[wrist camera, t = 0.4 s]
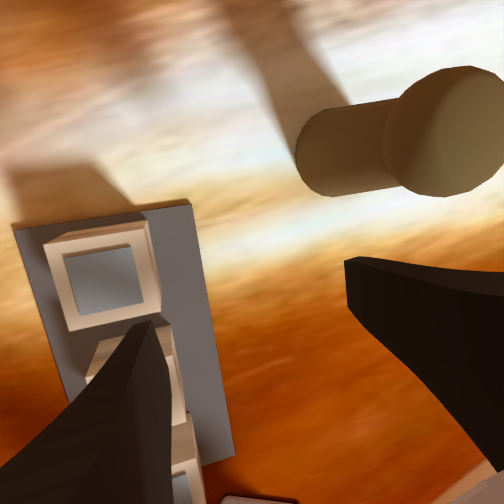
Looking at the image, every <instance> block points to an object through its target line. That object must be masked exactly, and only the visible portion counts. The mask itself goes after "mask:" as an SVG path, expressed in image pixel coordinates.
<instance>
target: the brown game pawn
mask: <svg viewBox="0 0 504 504" xmlns="http://www.w3.org/2000/svg"><path fill="white" fill-rule="evenodd" d="M295 155H296V162H297V169H298V171H299V173H300V175H301V177H302V180H303V181H304V182H305V183H306V184H307V186H308V187H309V188H310V189H311V190H313V191H314V192H316V193H318V194H320V195H322V196H329V197H337V196H344V195H350V194H356V193H362V192H368V191H374V190H380V189H386V188H392V187H398V186H403V187H405V188H407V189H408V190H410V191H412V192H414V193H417V194H419V195H426V196H433V197H448V196H453V195H457V194H461V193H465V192H469V191H471V190H473V189H474V188H476V187H477V186H479V185H481V184H482V183H484V182H485V181H487V180H488V179H490V178H491V177H493V175H494V174H495V173H496V172H497V171H498V170H499V169H500V167H501V166H502V165H503V163H504V81H502V80H501V79H500V78H499V77H498V76H497V75H496V74H495V73H492V72H489V71H486V70H483V69H480V68H477V67H474V66H471V65H470V66H460V67H452V68H445V69H441V70H438V71H436V72H434V73H431V74H429V75H427V76H426V77H424V78H422V79H421V80H419V81H417V82H415V83H414V84H413V85H412V86H410V87H409V88H408V89H407V90H405V92H404V93H403V94H402V95H401V96H400V97H399V98H394V99H388V100H382V101H376V102H369V103H363V104H357V105H351V106H345V107H339V108H332V109H326V110H323V111H321V112H319V113H318V114H316V115H314V116H312V118H311V119H310V120H309V121H308V122H307V123H306V124H305V125H304V127H303V129H302V131H301V133H300V135H299V138H298V140H297V146H296V153H295Z"/></svg>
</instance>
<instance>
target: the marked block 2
mask: <svg viewBox="0 0 504 504" xmlns="http://www.w3.org/2000/svg"><path fill="white" fill-rule="evenodd" d="M186 421H187V422H185V423H182V424H178V425H175V426H172V446H171V467H172V486H173V497H174V504H206V498H205V490H204V482H203V475H202V467H201V460H200V455H199V451H198V446H197V441H196V436H195V431H194V427H193V422H192V417H191V413H188V414H186Z"/></svg>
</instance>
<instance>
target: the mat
mask: <svg viewBox="0 0 504 504" xmlns="http://www.w3.org/2000/svg"><path fill="white" fill-rule="evenodd" d="M142 220H148V225H149V230H150V235H151V239H152V244H153V249H154V254H155V258H156V263H157V268H158V273H159V277H160V282H161V287H162V294H161V311H160V312H156V313H151V314H147V315H142V316H138V317H133V318H129V319H124V320H120V321H115V322H111V323H106V324H101V325H97V326H92V327H88V328H83V329H79V330H74V331H70V332H69V329H68V326H67V322H66V319H65V316H64V312H63V309H62V306H61V302H60V299H59V296H58V293H57V289H56V286H55V283H54V279H53V276H52V273H51V269H50V266H49V263H48V259H47V256H46V253H45V250H44V246H43V245H44V244H46V243H48V242H50V241H52V240H54V239H55V238H57V237H59V236H61V235H63V234H65V233H67V232H71V231H77V230H84V229H90V228H97V227H103V226H110V225H116V224H123V223H129V222H136V221H142ZM14 233H15V236H16V239H17V242H18V246H19V249H20V252H21V255H22V258H23V261H24V264H25V267H26V270H27V273H28V276H29V280H30V283H31V286H32V289H33V292H34V295H35V298H36V301H37V304H38V307H39V311H40V314H41V317H42V320H43V323H44V326H45V329H46V332H47V335H48V338H49V342H50V345H51V348H52V351H53V354H54V357H55V360H56V363H57V366H58V369H59V372H60V376H61V379H62V382H63V385H64V388H65V391H66V394H67V397H68V400H69V403H70V404H71V403H72V402H73V400H74V399H75V398H76V397H77V396H78V395H79V394H80V393H81V392H82V391H83V389H84V388H85V387H86V386H87V382H86V379H85V377H86V374H87V372H88V369H89V367H90V364H91V362H92V359H93V357H94V354H95V352H96V349H97V347H98V344H99V342H100V341H102V340H106V339H111V338H115V337H119V336H123V335H126V333H127V332H128V330H129V329H130V328H131V327H132V325H134V324H137V323H141V322H144V321H147V320H152V322H153V325H154V328H158V327H162V326H166V325H171V328H172V332H173V337H174V342H175V347H176V352H177V356H178V361H179V366H180V371H181V375H182V380H183V389H184V400H185V410H186V414H188V413H191V417H192V422H193V427H194V431H195V436H196V441H197V446H198V451H199V455H200V460H201V467H202V466H205V465H208V464H211V463H214V462H217V461H220V460H223V459H225V458H228V457H231V456H234V455H235V452H234V446H233V440H232V434H231V429H230V423H229V417H228V411H227V405H226V400H225V394H224V388H223V382H222V377H221V371H220V365H219V359H218V353H217V348H216V342H215V336H214V330H213V324H212V319H211V313H210V307H209V301H208V296H207V290H206V284H205V278H204V272H203V267H202V261H201V255H200V249H199V243H198V238H197V232H196V226H195V220H194V215H193V209H192V204H186V205H179V206H173V207H166V208H159V209H152V210H146V211H139V212H132V213H125V214H118V215H112V216H105V217H98V218H91V219H85V220H78V221H71V222H64V223H58V224H51V225H44V226H37V227H31V228H24V229H17V230H14Z"/></svg>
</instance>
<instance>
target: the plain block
mask: <svg viewBox="0 0 504 504" xmlns="http://www.w3.org/2000/svg"><path fill="white" fill-rule="evenodd" d="M155 331H156V334H157V336H158V339H159V342H160V345H161V347H162V350H163V353H164V356H165V359H166V361H167V364H168V367H169V374H170V382H171V390H172V426H175V425H178V424H182V423H185V422H187V421H186V410H185V400H184V389H183V380H182V375H181V371H180V366H179V361H178V356H177V352H176V347H175V342H174V337H173V332H172V328H171V325H166V326H162V327H158V328H155ZM124 336H125V335H123V336H119V337H115V338H111V339H106V340H102V341H100V342H99V344H98V347H97V349H96V352H95V354H94V357H93V359H92V362H91V364H90V367H89V369H88V372H87V374H86V377H85V379H86V382H87V385H88V383H89V382H90V381H91V380H92V378H93V377H94V376H95V375H96V374H97V372H98V371H99V370H100V369H101V367H102V366H103V365H104V364H105V362H106V361H107V360H108V358H109V357H110V356H111V354H112V353H113V351H114V350H115V349H116V347H117V346H118V345H119V343H120V342H121V340H122V339H123V338H124Z"/></svg>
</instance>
